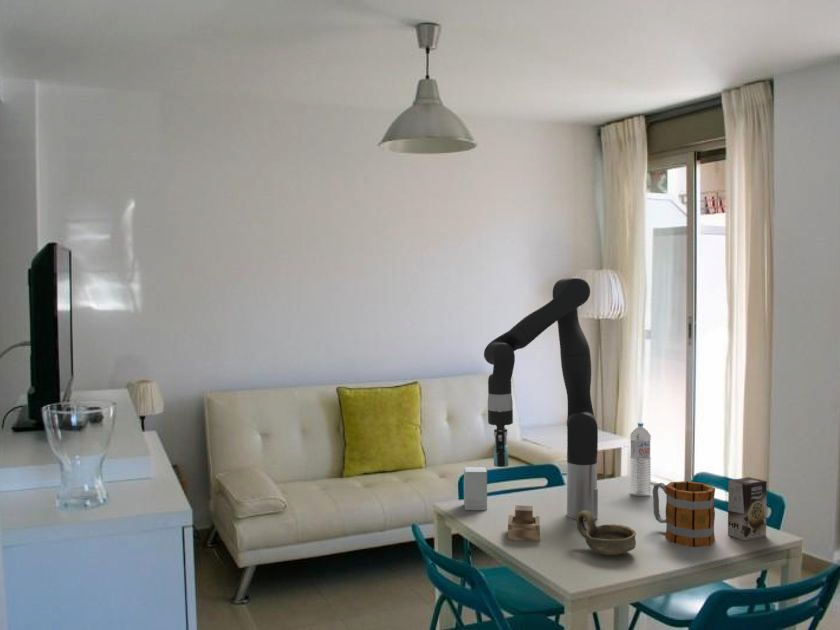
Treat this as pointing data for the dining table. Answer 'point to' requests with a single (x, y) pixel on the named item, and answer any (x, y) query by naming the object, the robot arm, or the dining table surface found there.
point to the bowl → (606, 536)
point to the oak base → (524, 529)
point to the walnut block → (523, 514)
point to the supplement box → (475, 488)
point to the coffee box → (747, 508)
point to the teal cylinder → (505, 455)
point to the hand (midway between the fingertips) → (501, 464)
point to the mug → (687, 512)
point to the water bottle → (640, 462)
